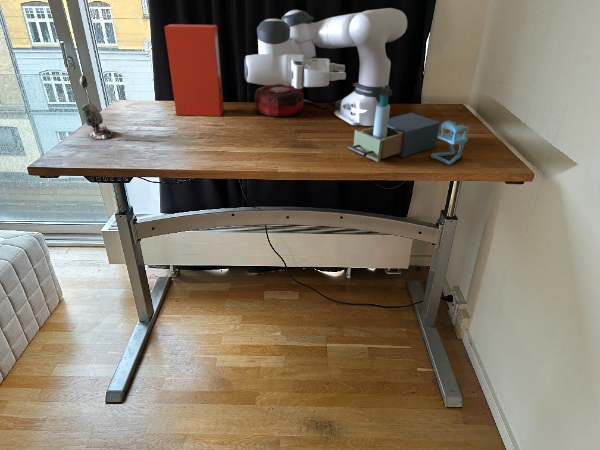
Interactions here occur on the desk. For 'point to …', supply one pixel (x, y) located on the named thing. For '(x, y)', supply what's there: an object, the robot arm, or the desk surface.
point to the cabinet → (415, 132)
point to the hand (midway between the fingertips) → (345, 71)
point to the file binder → (195, 69)
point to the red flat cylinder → (279, 100)
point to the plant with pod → (94, 117)
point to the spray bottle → (382, 114)
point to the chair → (451, 141)
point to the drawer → (377, 144)
